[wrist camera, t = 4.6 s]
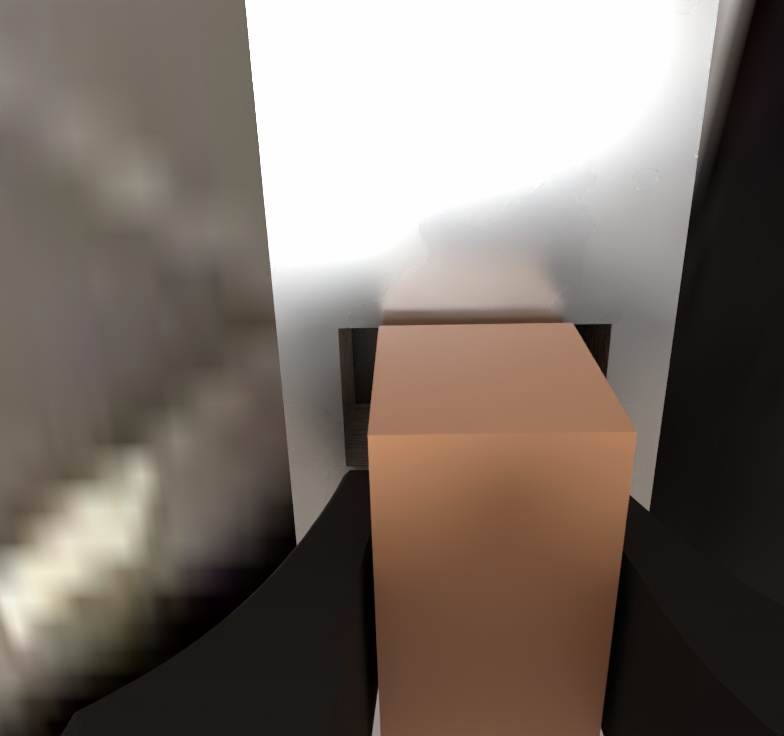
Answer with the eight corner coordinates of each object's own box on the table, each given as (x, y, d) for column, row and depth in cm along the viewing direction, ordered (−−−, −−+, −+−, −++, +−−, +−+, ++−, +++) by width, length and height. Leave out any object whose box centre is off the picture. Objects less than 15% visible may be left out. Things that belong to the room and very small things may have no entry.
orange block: (545, 275, 14) (637, 431, 8) (528, 556, 16) (589, 818, 11) (383, 279, 14) (367, 435, 8) (392, 557, 16) (384, 817, 11)
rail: (695, -309, 11) (775, -406, 8) (572, 815, 20) (594, 914, 18) (251, -290, 11) (209, -381, 8) (340, 814, 20) (331, 912, 18)
